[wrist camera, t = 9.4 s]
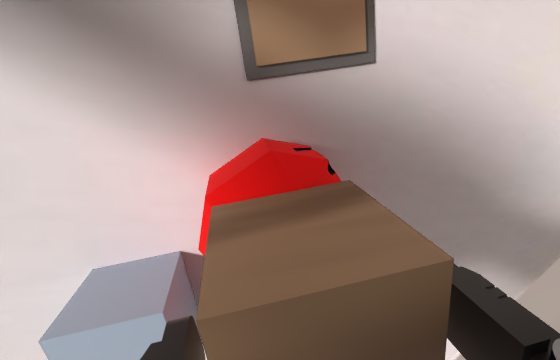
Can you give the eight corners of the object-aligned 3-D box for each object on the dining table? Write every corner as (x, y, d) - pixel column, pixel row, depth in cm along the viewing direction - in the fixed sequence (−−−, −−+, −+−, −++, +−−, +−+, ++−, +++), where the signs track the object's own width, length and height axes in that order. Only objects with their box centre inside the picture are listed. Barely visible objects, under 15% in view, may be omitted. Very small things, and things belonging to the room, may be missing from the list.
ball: (341, 203, 21) (398, 261, 14) (255, 262, 21) (268, 348, 14) (284, 114, 18) (319, 131, 11) (186, 184, 19) (160, 242, 12)
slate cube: (93, 268, 19) (38, 341, 14) (180, 250, 20) (162, 312, 15) (121, 333, 21) (82, 420, 16) (199, 314, 22) (189, 390, 17)
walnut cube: (211, 206, 11) (195, 321, 6) (349, 180, 12) (454, 259, 7) (238, 318, 13) (245, 484, 8) (355, 290, 14) (438, 423, 9)
